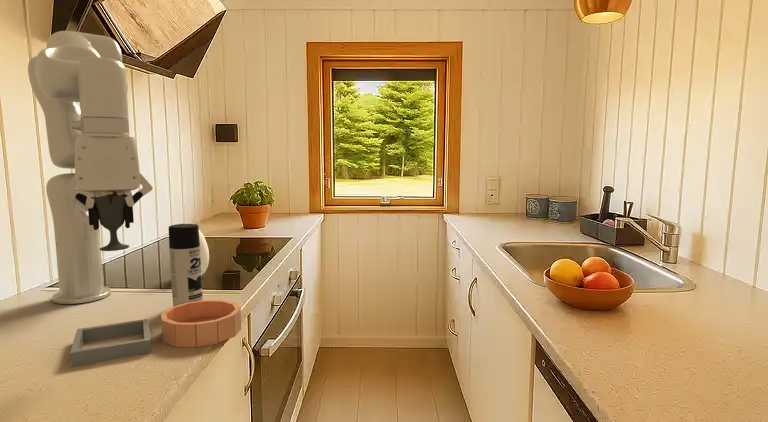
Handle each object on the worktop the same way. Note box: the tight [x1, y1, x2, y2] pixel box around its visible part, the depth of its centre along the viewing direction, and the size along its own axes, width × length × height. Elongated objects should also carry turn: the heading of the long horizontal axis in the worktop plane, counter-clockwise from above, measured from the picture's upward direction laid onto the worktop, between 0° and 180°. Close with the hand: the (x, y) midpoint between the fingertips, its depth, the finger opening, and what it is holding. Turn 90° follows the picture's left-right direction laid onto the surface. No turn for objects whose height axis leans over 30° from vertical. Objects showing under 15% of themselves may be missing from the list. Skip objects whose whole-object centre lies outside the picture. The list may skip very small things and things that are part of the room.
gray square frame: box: [69, 318, 152, 367], centre depth 90 cm, size 12×12×2 cm
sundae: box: [91, 191, 130, 252], centre depth 87 cm, size 7×7×15 cm
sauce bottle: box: [192, 217, 210, 276], centre depth 139 cm, size 8×8×18 cm
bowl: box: [160, 299, 242, 348], centre depth 97 cm, size 15×15×4 cm
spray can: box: [168, 223, 204, 307], centre depth 112 cm, size 7×7×20 cm
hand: (112, 226), depth 88 cm, fingers closed on sundae, 4 cm apart
